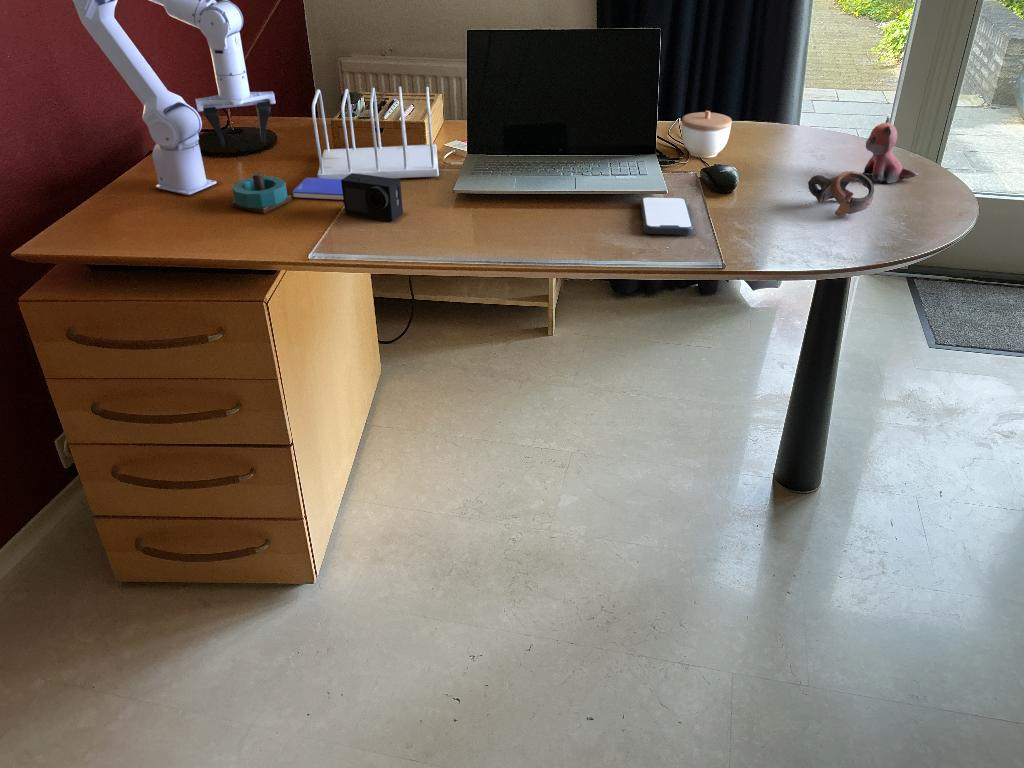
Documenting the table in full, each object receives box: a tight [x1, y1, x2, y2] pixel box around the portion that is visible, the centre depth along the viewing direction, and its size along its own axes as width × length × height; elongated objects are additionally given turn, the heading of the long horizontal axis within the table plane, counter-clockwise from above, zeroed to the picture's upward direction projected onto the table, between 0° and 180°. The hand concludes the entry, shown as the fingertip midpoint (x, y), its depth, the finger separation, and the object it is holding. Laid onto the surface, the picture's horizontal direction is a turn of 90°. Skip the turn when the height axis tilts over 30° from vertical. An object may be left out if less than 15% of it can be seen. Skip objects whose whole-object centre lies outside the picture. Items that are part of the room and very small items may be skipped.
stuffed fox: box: [862, 116, 920, 184], centre depth 174 cm, size 8×11×12 cm
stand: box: [232, 171, 292, 215], centre depth 167 cm, size 8×8×6 cm
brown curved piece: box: [807, 170, 875, 219], centre depth 162 cm, size 12×10×8 cm
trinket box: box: [681, 110, 733, 159], centre depth 190 cm, size 11×11×9 cm
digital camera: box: [341, 173, 404, 222], centre depth 161 cm, size 10×5×7 cm, turn 68°
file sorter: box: [311, 86, 440, 179], centre depth 182 cm, size 25×17×16 cm
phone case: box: [640, 196, 694, 236], centre depth 160 cm, size 9×2×16 cm
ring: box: [231, 175, 288, 208], centre depth 168 cm, size 10×10×3 cm
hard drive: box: [292, 177, 344, 201], centre depth 173 cm, size 2×8×12 cm
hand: (243, 143), depth 169 cm, fingers open, 7 cm apart
